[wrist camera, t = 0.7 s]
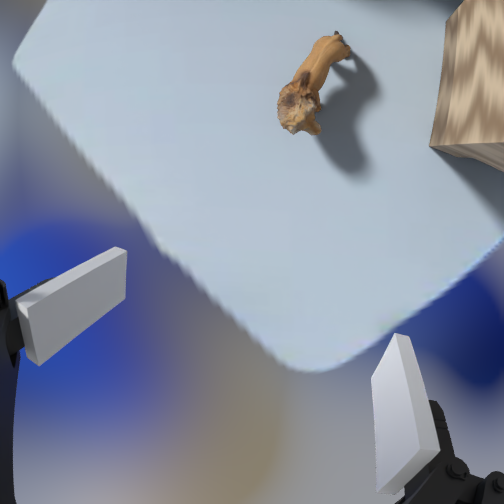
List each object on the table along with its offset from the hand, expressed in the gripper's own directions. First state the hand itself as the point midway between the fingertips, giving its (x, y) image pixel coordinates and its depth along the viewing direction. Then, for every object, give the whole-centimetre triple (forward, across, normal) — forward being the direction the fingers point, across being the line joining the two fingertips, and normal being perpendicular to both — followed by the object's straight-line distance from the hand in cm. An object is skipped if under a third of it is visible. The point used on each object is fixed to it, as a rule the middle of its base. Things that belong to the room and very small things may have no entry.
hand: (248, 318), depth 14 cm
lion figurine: (+26, -2, +15) cm, 31 cm away
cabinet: (+26, +20, +21) cm, 39 cm away
